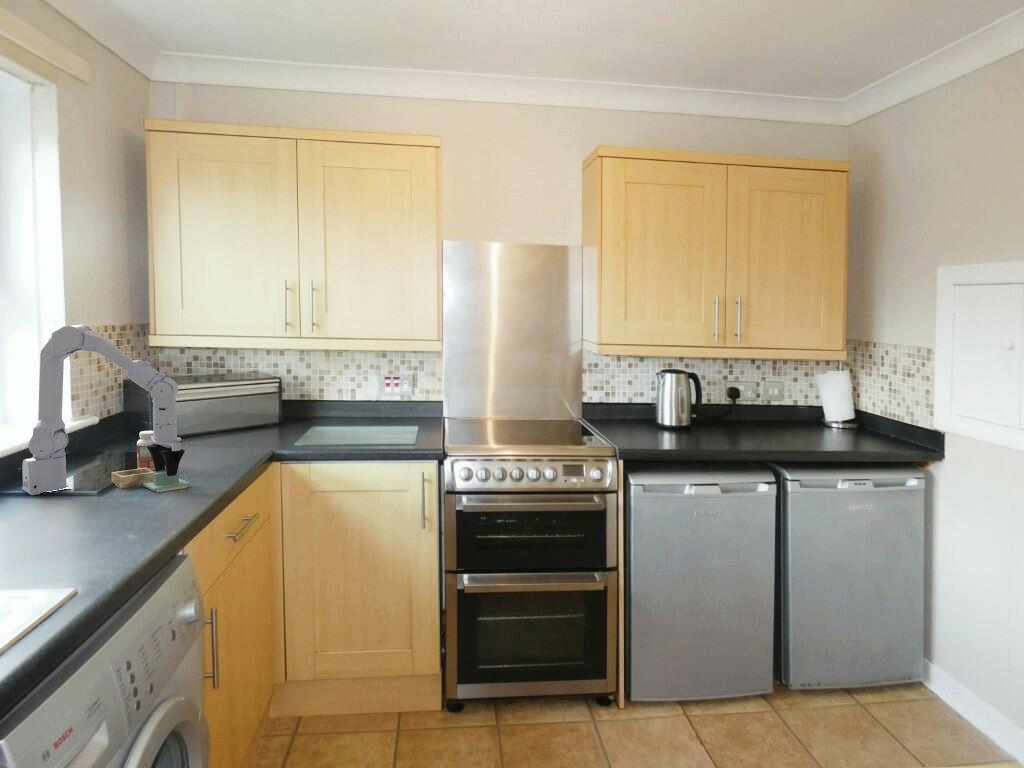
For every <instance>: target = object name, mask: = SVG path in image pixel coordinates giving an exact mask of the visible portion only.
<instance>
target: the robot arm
mask: <svg viewBox="0 0 1024 768" xmlns="http://www.w3.org/2000/svg"><path fill="white" fill-rule="evenodd" d="M78 351H83V352H94V353H98V354H99V355H101V356H102V357H104V358H105V359H107V360H108V361H110V362H112V363H114V364H116V365H117V366H118V367H120V368H122V369H123V370H124V372H125V376H126V378H128V379H129V380H131V381H132V382H133V383H135V384H136V385H137V386H139V387H140V388H142V389H144V390H145V391H146V392H149V395H150V398H151V399H153V401H152V423H153V424H152V426H153V427H152V429H153V430H152V431H153V436H151V443H153V444H152V445H148V446H147V449H148V450H149V452H150V454H151V456H152V459H153V463H154V467H155V470H154V471H155V472H163V471H166V473H167V476H175V475H176V474H177V471H179V470H178V469H179V466H180V463H181V459H182V457H183V455H184V454H185V449H183V448H181V445H182V444H181V443H180V442H181V441H182V438H181V437H178V432H177V431H178V427H177V426H178V423H177V421H178V419H177V418H178V417H177V414H178V413H177V407H178V406H177V397H176V396H177V394H178V392H179V385H178V383H177V382H176V381H175V380H174V379H173V378H172V377H168V376H166V374H165V373H164V372H162V373H161V372H159V371H158V370H156V369H155V368H154V367H153V366H151V362H150V361H148V360H145V361H144V360H142V359H136V360H134V359H133V358H131V357H130V356H129V355H127V354H126V353H125V352H124V351H122V350H121V349H119V347H117V346H116V345H115V344H113V343H112V342H111V341H110V340H108V339H107V338H105V337H104V336H103V335H102V334H101V333H99V332H97V331H96V330H93V329H92V328H91V327H89V326H87V324H86V325H85V324H75V325H65V326H62V327H60V328H57V330H54V331H53V332H52V333H51V336H50V338H49V339H48V340H47V342H46V344H44V346H43V347H42V348H41V351H40V354H39V383H38V385H39V386H38V387H39V388H38V416H37V422H36V423H35V425H34V427H33V429H32V436H31V438H30V439H29V441H28V445H27V447H28V450H29V452H30V453H31V454H32V457H30V458H25V459H23V460H22V464H21V465H22V467H21V469H22V471H21V472H22V490H23V491H24V492H26V493H27V494H29V495H30V496H35V495H41V494H40V493H43V492H47V491H53V490H59V489H63V488H66V487H69V486H70V485H69V484H68V483H67V482H68V481H67V460H66V457H67V456H66V454H67V453H66V450H65V448H66V447H67V446H68V444H69V436H68V435H69V434H67V432H66V424H65V422H64V420H63V395H64V394H63V392H64V369H65V368H64V366H65V365H64V364H65V363H64V362H65V360H66V359H67V358H69V357H70V356H71V355H73V354H74V353H75V352H78ZM43 494H44V493H43Z"/></svg>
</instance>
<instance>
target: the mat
mask: <svg viewBox="0 0 1024 768" xmlns="http://www.w3.org/2000/svg"><path fill="white" fill-rule="evenodd" d="M187 488H189V485H187V486H181V487H174V488H168V489H162V490H156V491H154V492H156V493H162V492H168V491H174V490H179V489H187Z"/></svg>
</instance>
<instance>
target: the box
mask: <svg viewBox="0 0 1024 768" xmlns="http://www.w3.org/2000/svg"><path fill="white" fill-rule="evenodd" d="M153 473H157V471H156V470H150V469H148V468H140V469H138V468H134V469H128V470H127V469H126V470H120V471H119V470H118V471H112V472H111V483H112V482H113V483H114V484H115V485H114V486H115V487H117V488H119V489H121V490H123V489H130V488H135V487H144V486H143V483H148V482H153Z"/></svg>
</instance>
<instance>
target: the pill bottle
mask: <svg viewBox="0 0 1024 768" xmlns="http://www.w3.org/2000/svg"><path fill="white" fill-rule="evenodd" d="M151 436H153V430H143V431H142V430H141V431H140V432H139V438H140V439H138V440H137V442H136V459H137V461H136V464H137V469H140V468H148V469H150V470H152V471H156V470H155V467H154V463H153V459H152V456H151V454H150V452H149V450H148V449H147V446H148V445H152V444H153V443H151Z"/></svg>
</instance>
